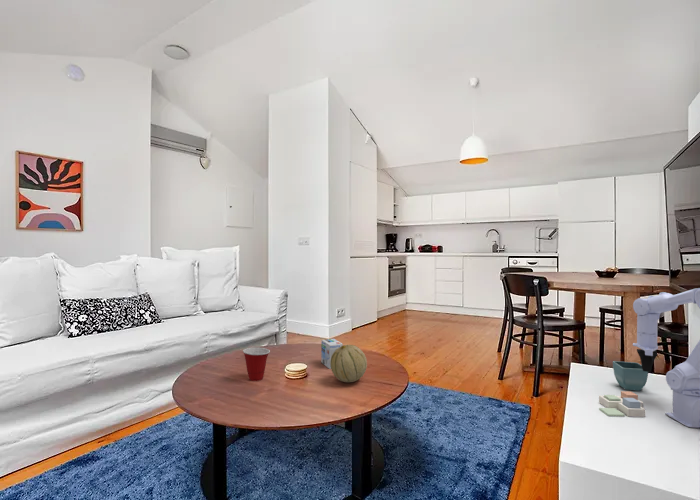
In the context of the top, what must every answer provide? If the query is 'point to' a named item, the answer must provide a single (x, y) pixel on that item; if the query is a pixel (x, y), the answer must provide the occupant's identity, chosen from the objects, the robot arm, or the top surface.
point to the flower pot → (630, 375)
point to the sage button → (612, 398)
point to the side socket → (631, 411)
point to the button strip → (613, 402)
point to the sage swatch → (611, 412)
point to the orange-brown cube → (628, 395)
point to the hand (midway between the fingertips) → (646, 371)
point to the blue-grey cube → (631, 403)
